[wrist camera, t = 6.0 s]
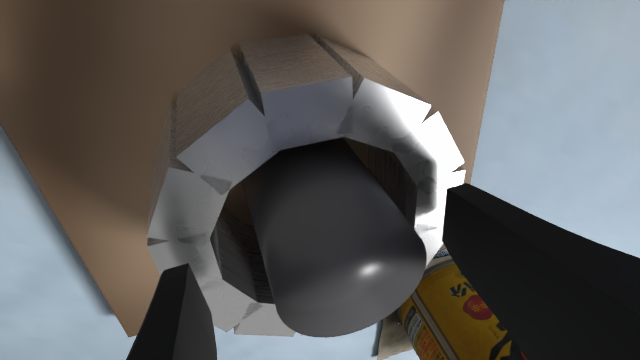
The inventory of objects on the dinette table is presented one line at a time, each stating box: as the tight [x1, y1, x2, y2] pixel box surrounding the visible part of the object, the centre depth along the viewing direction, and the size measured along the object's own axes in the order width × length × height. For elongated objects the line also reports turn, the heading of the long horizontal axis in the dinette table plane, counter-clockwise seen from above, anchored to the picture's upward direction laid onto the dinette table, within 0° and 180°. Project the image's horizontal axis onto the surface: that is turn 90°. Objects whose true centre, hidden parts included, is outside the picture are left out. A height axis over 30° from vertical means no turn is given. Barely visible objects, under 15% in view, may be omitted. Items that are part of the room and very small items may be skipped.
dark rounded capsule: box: [242, 137, 427, 337], centre depth 12 cm, size 4×4×6 cm
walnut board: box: [0, 0, 504, 337], centre depth 15 cm, size 16×14×1 cm
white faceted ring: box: [146, 33, 465, 337], centre depth 13 cm, size 9×9×4 cm
